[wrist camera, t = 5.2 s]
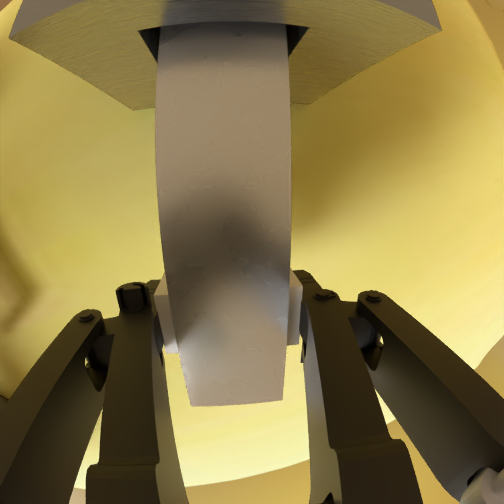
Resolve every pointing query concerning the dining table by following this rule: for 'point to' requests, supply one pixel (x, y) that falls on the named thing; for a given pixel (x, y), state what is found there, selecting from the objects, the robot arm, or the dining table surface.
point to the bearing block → (218, 9)
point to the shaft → (226, 204)
